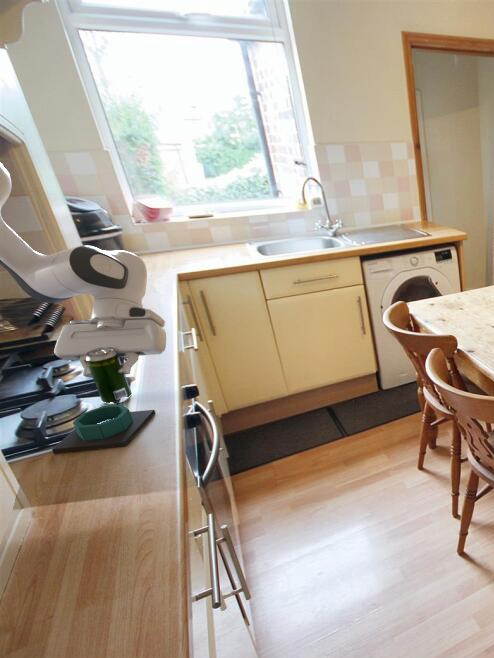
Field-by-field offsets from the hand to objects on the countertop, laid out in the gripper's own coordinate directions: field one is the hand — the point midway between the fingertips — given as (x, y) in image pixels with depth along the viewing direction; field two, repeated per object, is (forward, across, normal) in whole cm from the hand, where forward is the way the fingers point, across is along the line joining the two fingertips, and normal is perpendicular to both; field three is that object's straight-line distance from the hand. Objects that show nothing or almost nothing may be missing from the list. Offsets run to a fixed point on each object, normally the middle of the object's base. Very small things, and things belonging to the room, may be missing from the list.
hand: (106, 375), depth 102 cm
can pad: (+14, +5, -5) cm, 16 cm away
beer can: (+4, 0, +5) cm, 7 cm away
